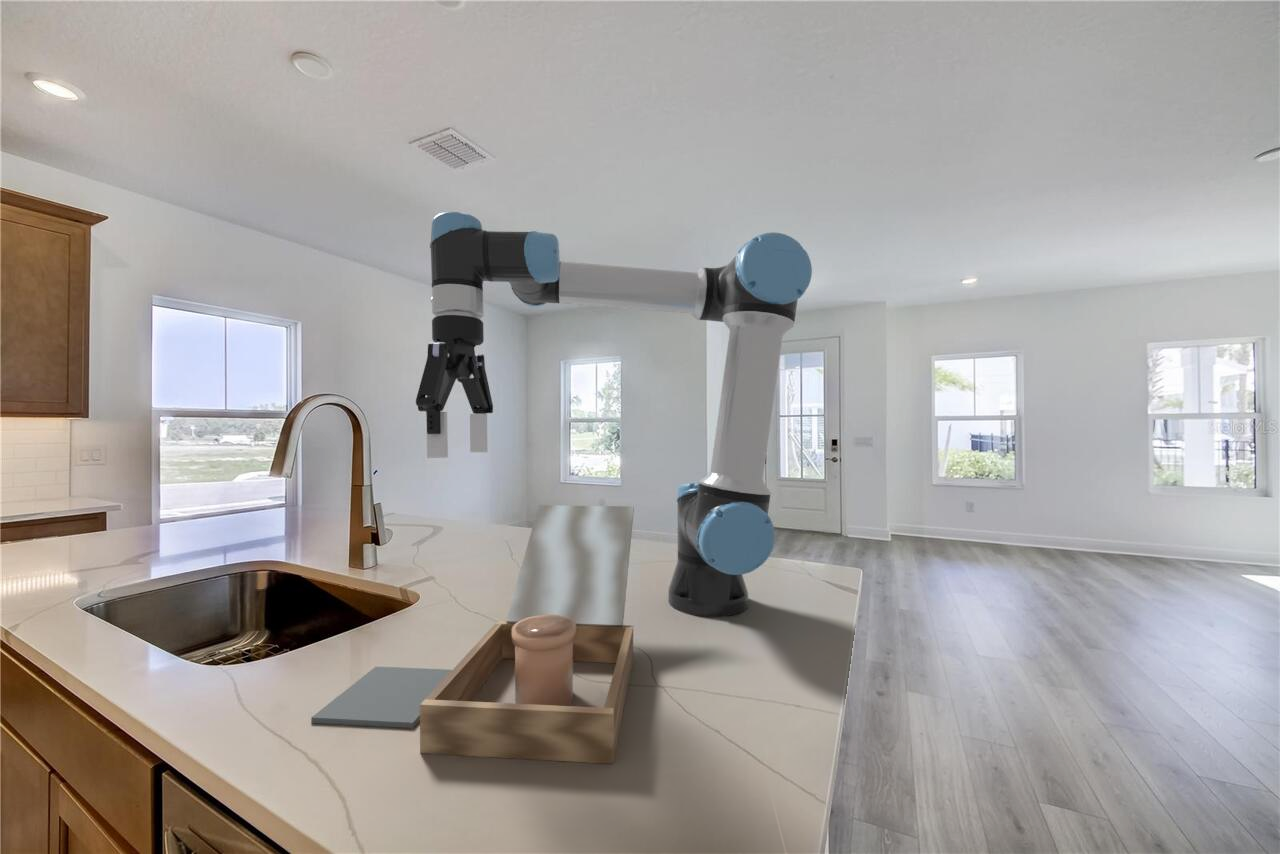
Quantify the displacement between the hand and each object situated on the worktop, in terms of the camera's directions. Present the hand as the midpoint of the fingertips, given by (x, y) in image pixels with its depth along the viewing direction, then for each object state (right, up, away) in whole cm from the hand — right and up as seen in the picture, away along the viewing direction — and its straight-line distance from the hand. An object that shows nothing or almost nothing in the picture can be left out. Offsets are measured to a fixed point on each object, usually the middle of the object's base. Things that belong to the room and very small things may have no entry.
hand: (460, 454), depth 78 cm
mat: (-3, -29, -16) cm, 33 cm away
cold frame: (+17, -29, -8) cm, 35 cm away
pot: (+16, -29, -16) cm, 37 cm away
